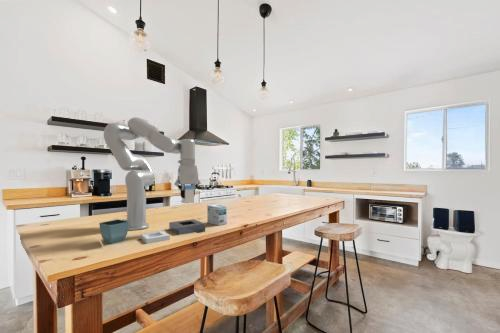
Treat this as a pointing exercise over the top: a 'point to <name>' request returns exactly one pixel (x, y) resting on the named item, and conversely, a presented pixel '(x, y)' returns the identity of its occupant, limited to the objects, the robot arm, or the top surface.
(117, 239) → the flower pot
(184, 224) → the port block
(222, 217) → the light bulb box
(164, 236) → the grey base plate
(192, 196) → the plug
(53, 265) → the top surface
